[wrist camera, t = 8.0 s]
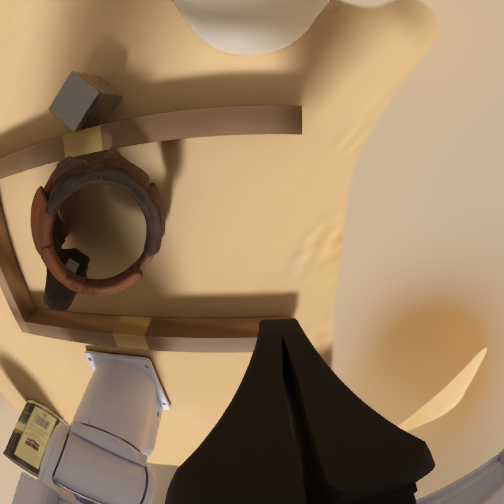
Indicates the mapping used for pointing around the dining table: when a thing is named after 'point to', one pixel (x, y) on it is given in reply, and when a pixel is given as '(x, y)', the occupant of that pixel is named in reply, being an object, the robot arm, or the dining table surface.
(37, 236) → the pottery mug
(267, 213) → the dining table surface
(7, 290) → the walnut slot beam
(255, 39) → the pill bottle
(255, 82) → the dining table surface
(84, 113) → the block
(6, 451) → the coffee can
